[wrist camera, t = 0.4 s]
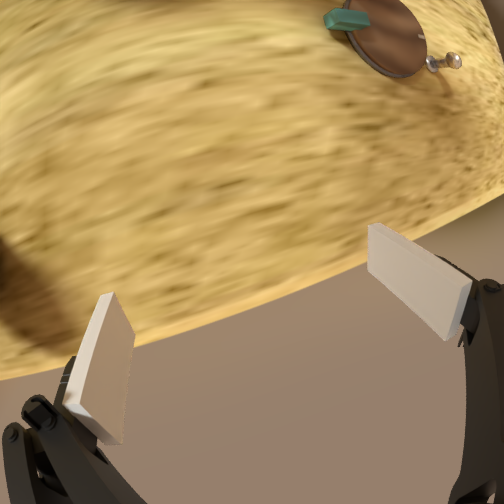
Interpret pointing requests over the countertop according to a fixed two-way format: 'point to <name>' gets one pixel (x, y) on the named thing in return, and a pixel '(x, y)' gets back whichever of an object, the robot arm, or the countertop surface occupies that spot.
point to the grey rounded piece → (443, 62)
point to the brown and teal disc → (383, 33)
